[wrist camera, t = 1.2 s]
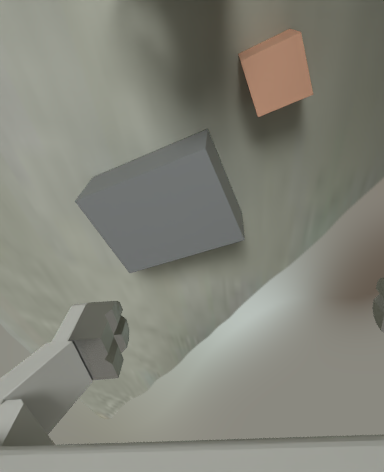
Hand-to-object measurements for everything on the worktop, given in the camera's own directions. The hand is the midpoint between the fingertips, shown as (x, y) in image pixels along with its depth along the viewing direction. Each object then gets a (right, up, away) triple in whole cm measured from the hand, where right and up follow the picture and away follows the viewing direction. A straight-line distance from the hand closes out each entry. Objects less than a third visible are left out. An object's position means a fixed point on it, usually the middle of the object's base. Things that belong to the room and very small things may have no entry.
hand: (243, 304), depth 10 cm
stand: (-5, +8, +30) cm, 31 cm away
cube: (+6, +19, +20) cm, 28 cm away
